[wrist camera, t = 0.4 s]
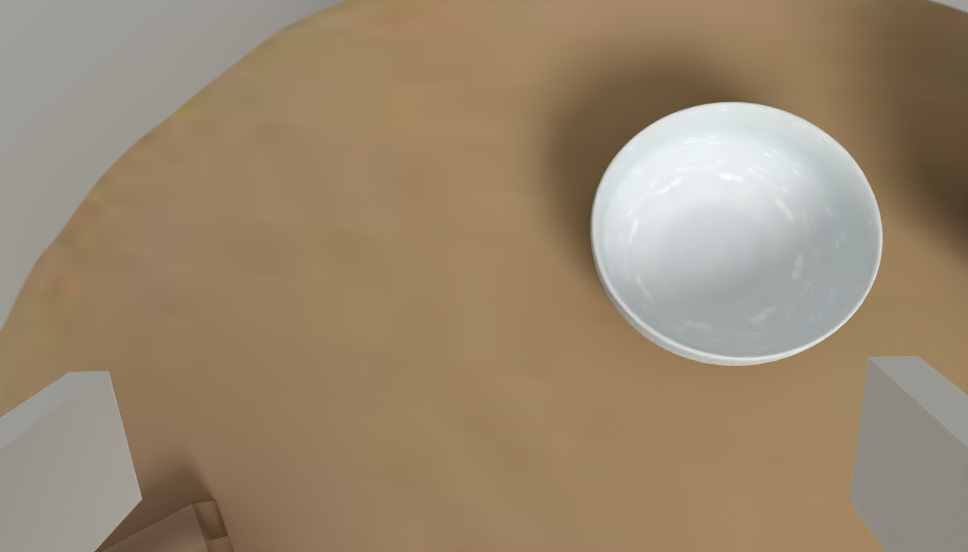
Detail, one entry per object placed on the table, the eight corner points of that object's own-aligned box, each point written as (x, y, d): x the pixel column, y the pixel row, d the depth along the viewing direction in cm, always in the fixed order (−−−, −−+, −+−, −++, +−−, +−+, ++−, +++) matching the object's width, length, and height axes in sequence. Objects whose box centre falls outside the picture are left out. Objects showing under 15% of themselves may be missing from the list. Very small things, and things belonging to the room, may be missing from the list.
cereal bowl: (795, 126, 48) (834, 73, 41) (870, 349, 43) (927, 331, 37) (565, 173, 49) (566, 129, 42) (615, 396, 45) (624, 386, 38)
